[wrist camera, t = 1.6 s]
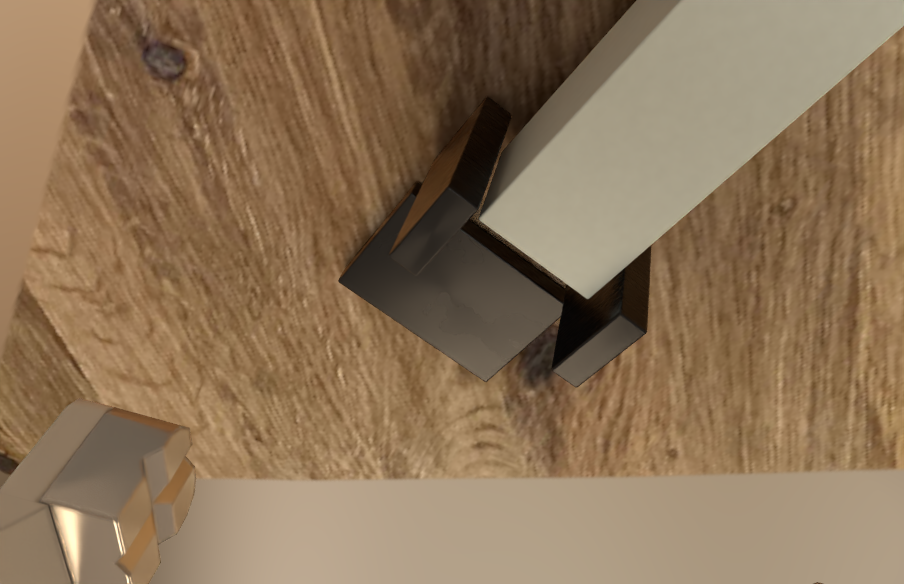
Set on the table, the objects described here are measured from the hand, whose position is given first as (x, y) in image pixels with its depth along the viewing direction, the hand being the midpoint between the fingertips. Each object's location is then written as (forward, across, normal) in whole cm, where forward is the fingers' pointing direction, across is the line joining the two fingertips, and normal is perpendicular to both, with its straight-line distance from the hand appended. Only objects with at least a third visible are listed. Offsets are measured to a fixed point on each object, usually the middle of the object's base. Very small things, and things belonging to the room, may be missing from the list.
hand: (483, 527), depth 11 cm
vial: (+17, -4, -2) cm, 17 cm away
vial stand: (+17, +2, +8) cm, 19 cm away
